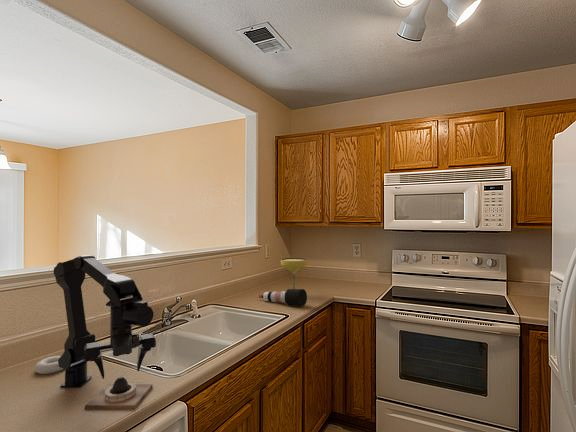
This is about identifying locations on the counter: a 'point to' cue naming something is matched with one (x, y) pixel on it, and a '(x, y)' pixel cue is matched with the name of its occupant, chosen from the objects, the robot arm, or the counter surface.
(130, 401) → the egg stand
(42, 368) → the donut
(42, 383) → the counter surface
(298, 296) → the bottle
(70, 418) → the counter surface
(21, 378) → the counter surface
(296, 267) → the cocktail glass
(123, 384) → the egg
